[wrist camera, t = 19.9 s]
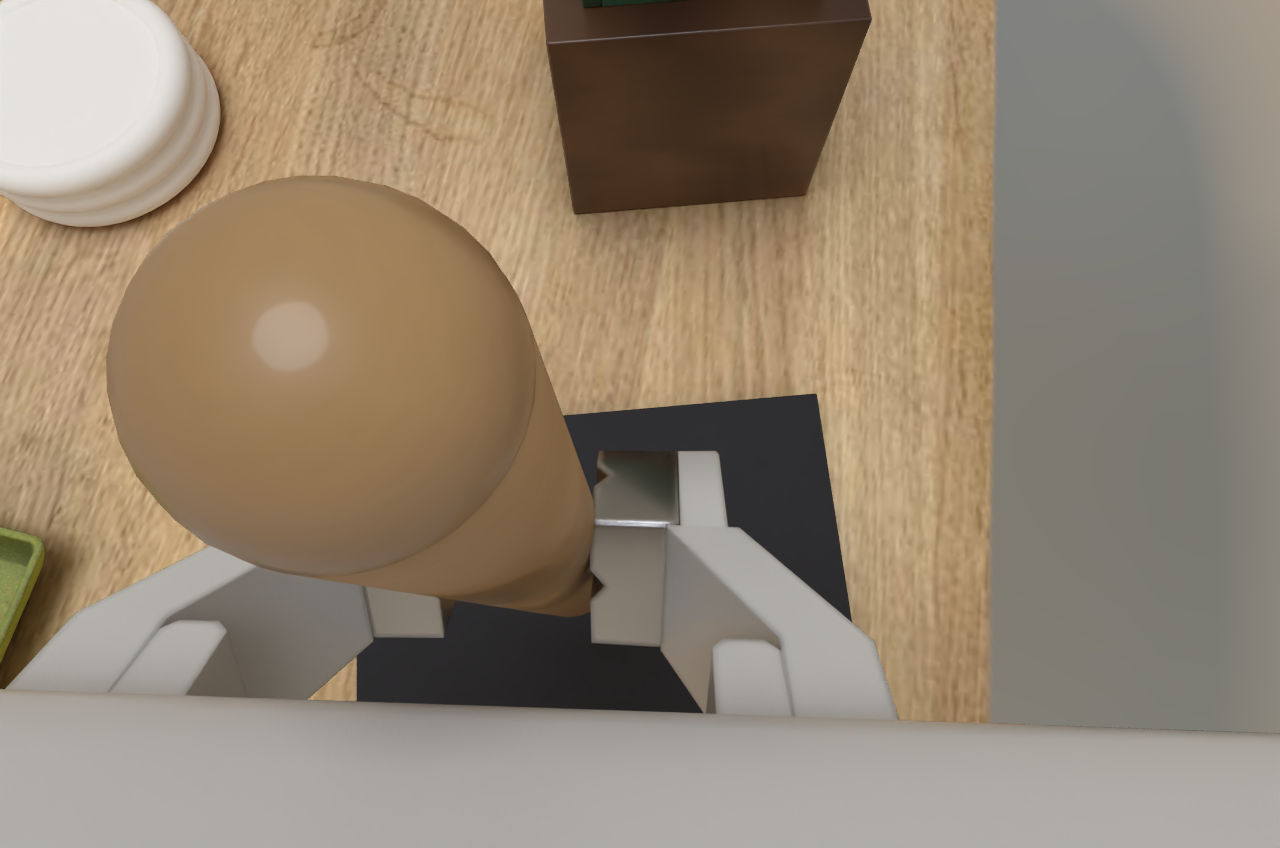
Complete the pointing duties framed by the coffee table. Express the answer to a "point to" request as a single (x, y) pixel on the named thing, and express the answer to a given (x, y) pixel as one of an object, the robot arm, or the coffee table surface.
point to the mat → (561, 646)
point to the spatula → (351, 399)
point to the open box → (697, 95)
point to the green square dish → (16, 578)
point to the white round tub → (99, 109)
